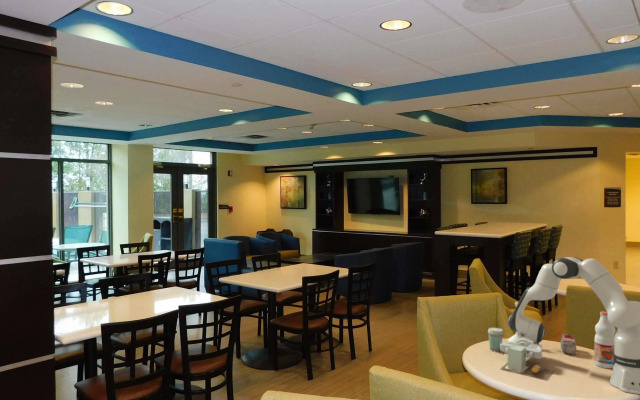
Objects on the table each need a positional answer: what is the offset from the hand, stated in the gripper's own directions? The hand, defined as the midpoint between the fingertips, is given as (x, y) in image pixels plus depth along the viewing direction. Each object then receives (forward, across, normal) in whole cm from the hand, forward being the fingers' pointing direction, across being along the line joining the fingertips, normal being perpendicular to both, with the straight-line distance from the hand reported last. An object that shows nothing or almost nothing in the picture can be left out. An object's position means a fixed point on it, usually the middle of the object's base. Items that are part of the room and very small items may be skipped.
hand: (517, 354), depth 234 cm
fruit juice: (-36, +34, +8) cm, 50 cm away
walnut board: (0, +5, +8) cm, 9 cm away
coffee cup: (-23, -18, +8) cm, 30 cm away
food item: (-48, +15, +8) cm, 51 cm away
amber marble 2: (-2, +9, +7) cm, 12 cm away
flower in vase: (-42, -11, +8) cm, 44 cm away
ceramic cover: (0, 0, +7) cm, 7 cm away
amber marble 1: (+2, +9, +7) cm, 12 cm away
